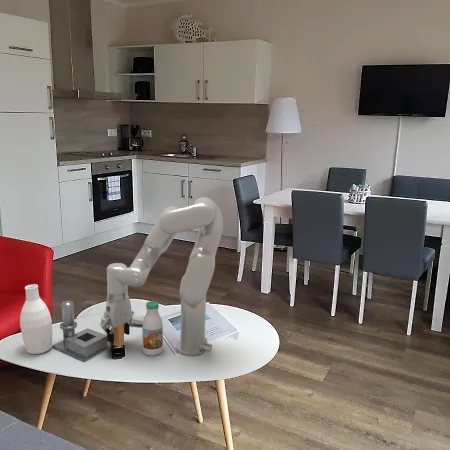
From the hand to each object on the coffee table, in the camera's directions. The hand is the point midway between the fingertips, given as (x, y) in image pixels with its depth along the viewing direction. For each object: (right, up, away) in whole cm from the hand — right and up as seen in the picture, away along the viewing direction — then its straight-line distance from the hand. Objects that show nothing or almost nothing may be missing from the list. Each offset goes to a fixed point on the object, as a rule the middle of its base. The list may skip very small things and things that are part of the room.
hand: (118, 337), depth 178 cm
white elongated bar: (0, 0, +20) cm, 20 cm away
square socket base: (-15, -4, -1) cm, 15 cm away
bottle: (-30, -4, -3) cm, 30 cm away
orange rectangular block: (0, -4, +1) cm, 4 cm away
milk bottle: (+14, -5, -2) cm, 15 cm away
